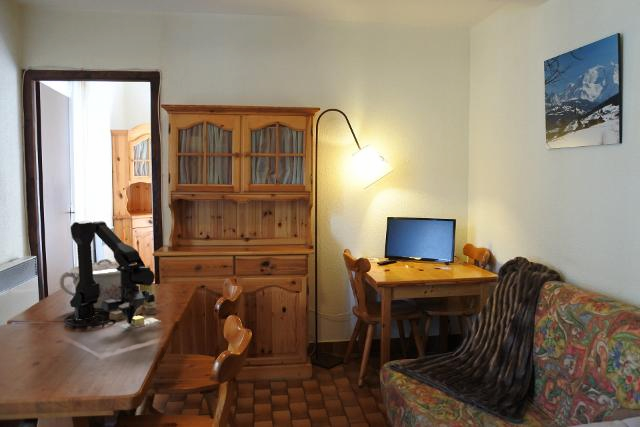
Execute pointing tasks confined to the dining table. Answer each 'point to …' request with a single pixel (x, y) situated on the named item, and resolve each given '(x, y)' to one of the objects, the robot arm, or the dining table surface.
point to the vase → (150, 289)
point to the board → (146, 322)
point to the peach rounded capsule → (139, 310)
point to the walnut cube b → (149, 309)
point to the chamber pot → (99, 280)
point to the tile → (137, 320)
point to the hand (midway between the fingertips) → (129, 323)
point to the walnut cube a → (116, 315)
